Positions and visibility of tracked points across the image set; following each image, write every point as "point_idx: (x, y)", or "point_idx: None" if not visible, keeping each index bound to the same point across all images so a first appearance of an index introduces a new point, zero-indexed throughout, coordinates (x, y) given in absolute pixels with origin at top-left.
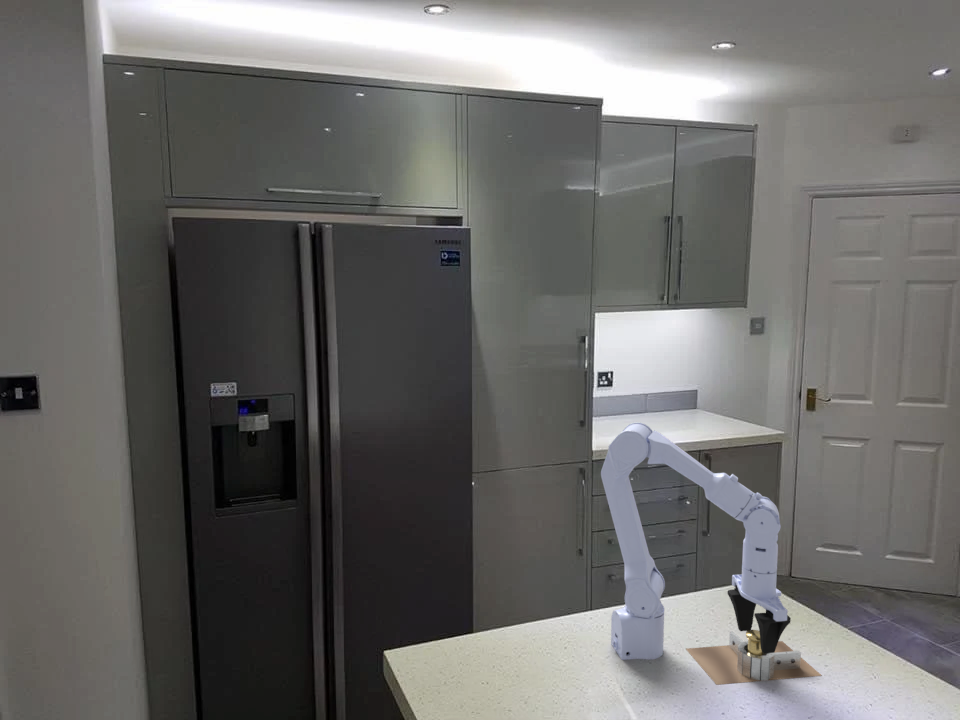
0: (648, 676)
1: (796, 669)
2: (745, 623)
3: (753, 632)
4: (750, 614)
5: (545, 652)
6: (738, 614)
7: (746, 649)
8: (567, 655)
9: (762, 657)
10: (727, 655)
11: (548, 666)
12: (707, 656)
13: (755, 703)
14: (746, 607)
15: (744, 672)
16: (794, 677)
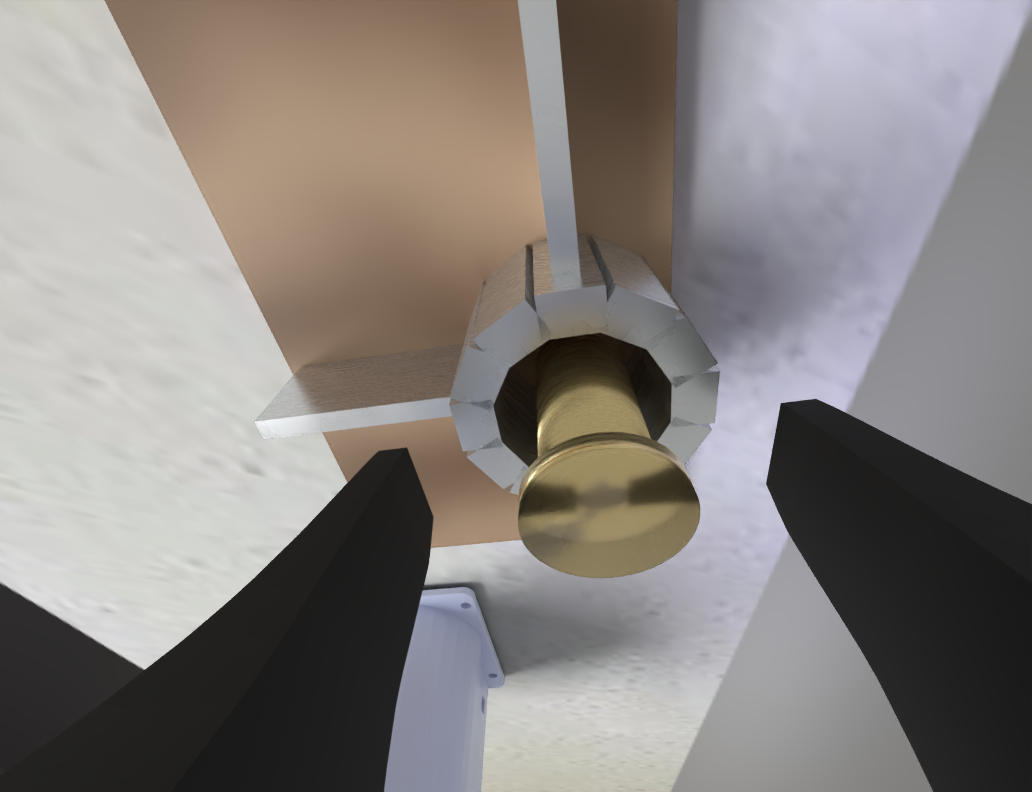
0: (553, 641)
1: (560, 8)
2: (406, 543)
3: (572, 528)
4: (346, 587)
5: None
6: (397, 683)
7: (507, 423)
8: None
9: (694, 409)
10: None
11: (506, 764)
12: (438, 499)
13: None
14: (337, 730)
15: None
16: (672, 95)
